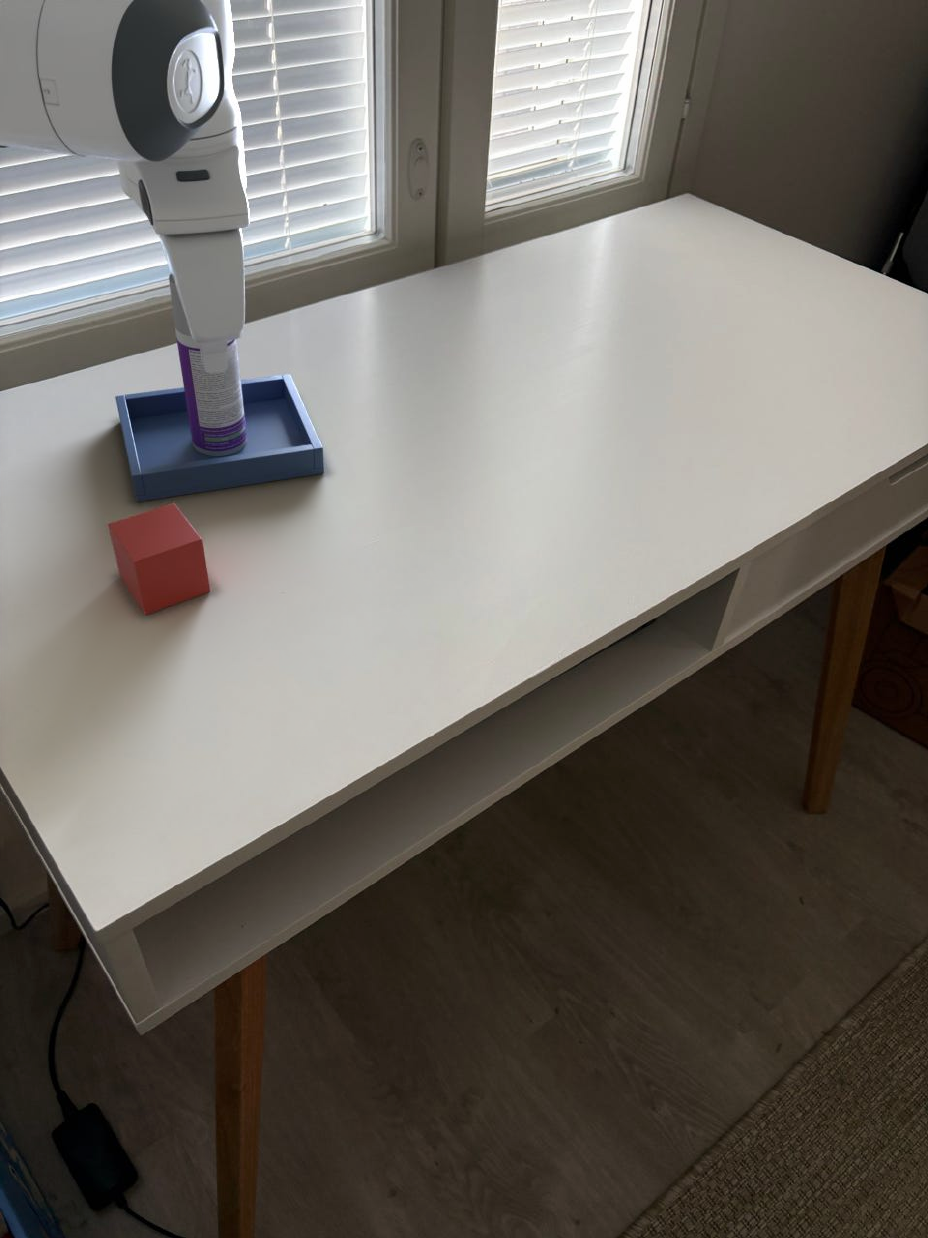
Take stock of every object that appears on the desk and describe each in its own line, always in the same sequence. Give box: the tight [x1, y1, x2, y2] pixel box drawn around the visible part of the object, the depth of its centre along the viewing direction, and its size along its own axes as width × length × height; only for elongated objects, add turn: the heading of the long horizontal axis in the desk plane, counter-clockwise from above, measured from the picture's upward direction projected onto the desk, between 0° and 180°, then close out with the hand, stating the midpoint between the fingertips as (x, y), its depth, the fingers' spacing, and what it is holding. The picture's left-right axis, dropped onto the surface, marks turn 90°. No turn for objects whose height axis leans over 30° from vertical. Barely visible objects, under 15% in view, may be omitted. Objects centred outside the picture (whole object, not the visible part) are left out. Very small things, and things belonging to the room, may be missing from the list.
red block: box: [107, 502, 211, 616], centre depth 73 cm, size 5×5×5 cm
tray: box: [114, 373, 325, 503], centre depth 88 cm, size 16×13×3 cm
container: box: [168, 273, 247, 456], centre depth 83 cm, size 5×5×15 cm
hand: (205, 339), depth 82 cm, fingers open, 8 cm apart
